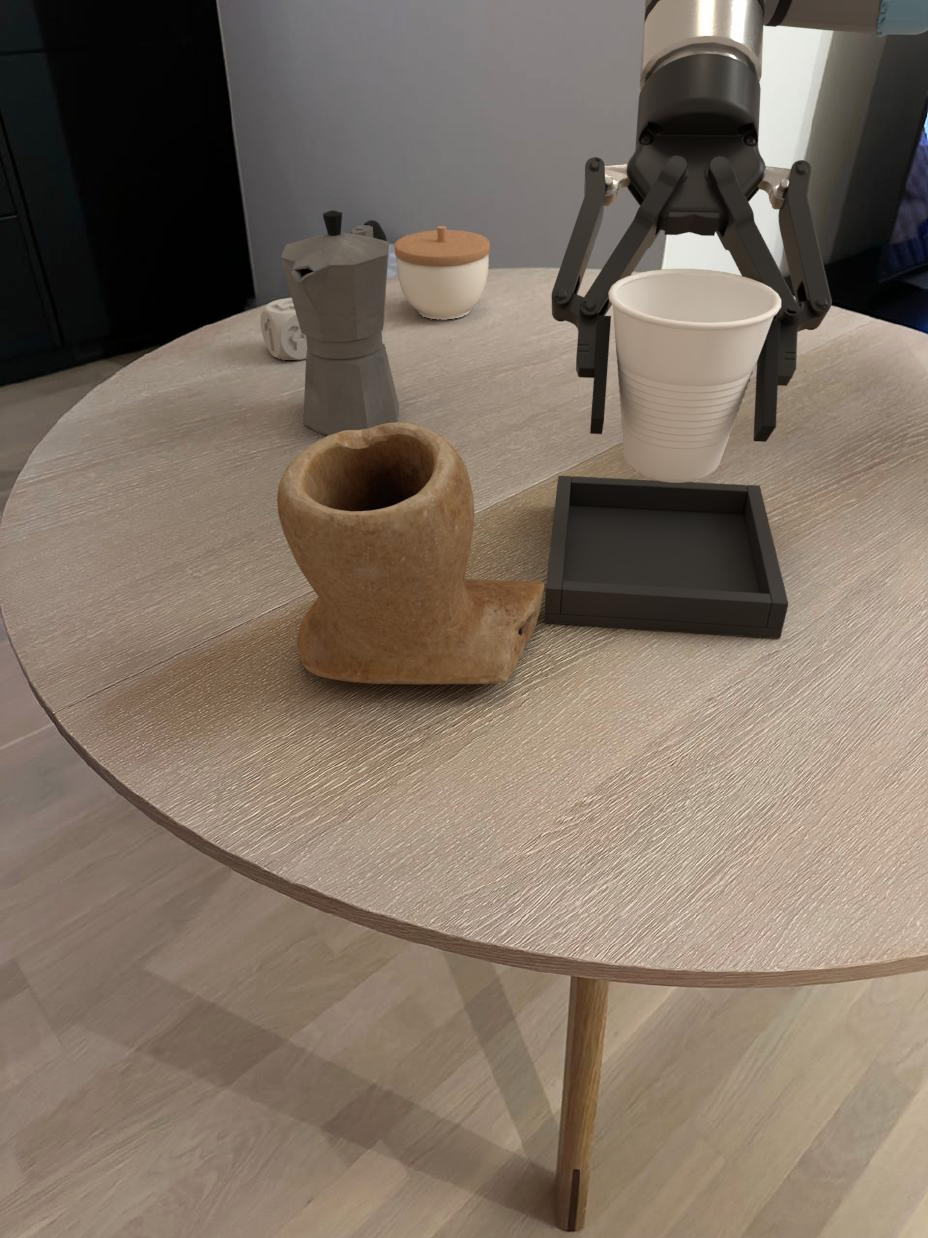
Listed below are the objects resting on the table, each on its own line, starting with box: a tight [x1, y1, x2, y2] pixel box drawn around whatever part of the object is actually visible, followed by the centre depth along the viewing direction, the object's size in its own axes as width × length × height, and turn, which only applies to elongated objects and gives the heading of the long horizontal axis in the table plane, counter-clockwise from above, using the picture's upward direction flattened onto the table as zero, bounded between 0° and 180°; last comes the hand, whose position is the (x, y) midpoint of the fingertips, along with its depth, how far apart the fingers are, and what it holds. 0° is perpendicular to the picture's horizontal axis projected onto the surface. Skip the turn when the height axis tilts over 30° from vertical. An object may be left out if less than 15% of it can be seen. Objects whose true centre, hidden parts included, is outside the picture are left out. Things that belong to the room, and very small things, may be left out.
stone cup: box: [276, 422, 546, 685], centre depth 53 cm, size 15×12×15 cm
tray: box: [543, 475, 789, 640], centre depth 65 cm, size 15×15×3 cm
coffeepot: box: [280, 209, 400, 436], centre depth 82 cm, size 15×9×18 cm, turn 159°
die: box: [260, 297, 307, 361], centre depth 98 cm, size 5×5×5 cm
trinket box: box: [393, 225, 491, 321], centre depth 106 cm, size 11×11×9 cm
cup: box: [608, 268, 781, 483], centre depth 58 cm, size 10×10×11 cm
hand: (679, 430), depth 56 cm, fingers closed on cup, 9 cm apart
